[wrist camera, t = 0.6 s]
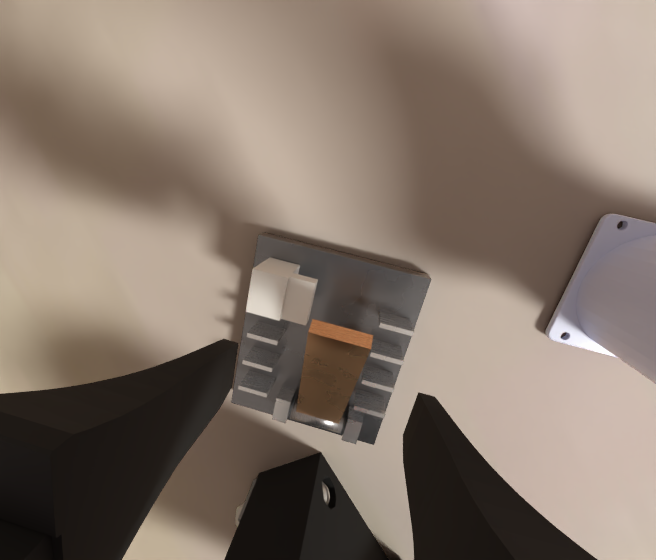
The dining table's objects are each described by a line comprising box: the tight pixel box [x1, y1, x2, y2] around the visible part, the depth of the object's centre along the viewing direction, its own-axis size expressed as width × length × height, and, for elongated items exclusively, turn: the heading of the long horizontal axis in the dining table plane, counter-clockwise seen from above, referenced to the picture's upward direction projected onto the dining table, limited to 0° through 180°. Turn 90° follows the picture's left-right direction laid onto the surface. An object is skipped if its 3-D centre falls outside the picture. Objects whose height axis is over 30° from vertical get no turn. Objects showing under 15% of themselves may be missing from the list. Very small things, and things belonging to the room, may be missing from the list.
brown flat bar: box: [290, 319, 373, 433], centre depth 19 cm, size 4×11×1 cm, turn 167°
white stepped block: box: [246, 257, 318, 326], centre depth 19 cm, size 4×3×3 cm
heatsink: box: [231, 232, 431, 445], centre depth 21 cm, size 11×13×3 cm
